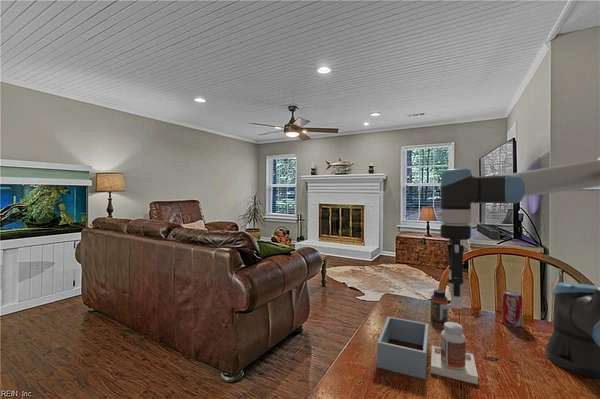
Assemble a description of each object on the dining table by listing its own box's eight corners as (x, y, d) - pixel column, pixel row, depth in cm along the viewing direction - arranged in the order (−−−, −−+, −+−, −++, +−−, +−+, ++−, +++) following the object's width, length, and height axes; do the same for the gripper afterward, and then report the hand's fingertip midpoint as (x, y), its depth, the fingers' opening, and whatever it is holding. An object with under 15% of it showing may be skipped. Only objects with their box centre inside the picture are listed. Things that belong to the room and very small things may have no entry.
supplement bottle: (427, 317, 117) (427, 289, 116) (439, 315, 118) (439, 287, 118) (438, 323, 111) (438, 294, 111) (450, 321, 113) (451, 292, 113)
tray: (472, 360, 86) (473, 354, 86) (477, 384, 75) (478, 376, 75) (431, 351, 91) (431, 345, 91) (430, 372, 80) (431, 365, 80)
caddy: (427, 345, 95) (428, 323, 94) (425, 379, 77) (426, 353, 77) (387, 336, 100) (388, 316, 100) (376, 367, 82) (377, 342, 82)
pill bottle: (469, 366, 82) (470, 326, 82) (458, 373, 78) (458, 332, 78) (447, 355, 87) (448, 318, 87) (436, 362, 84) (436, 323, 83)
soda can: (502, 319, 116) (502, 289, 115) (522, 323, 112) (523, 292, 112) (500, 324, 111) (501, 293, 111) (521, 329, 107) (522, 296, 107)
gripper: (440, 220, 95) (440, 285, 95) (440, 228, 73) (440, 313, 73) (466, 221, 92) (466, 288, 92) (476, 229, 69) (475, 318, 70)
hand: (455, 299), depth 83 cm, fingers open, 13 cm apart
